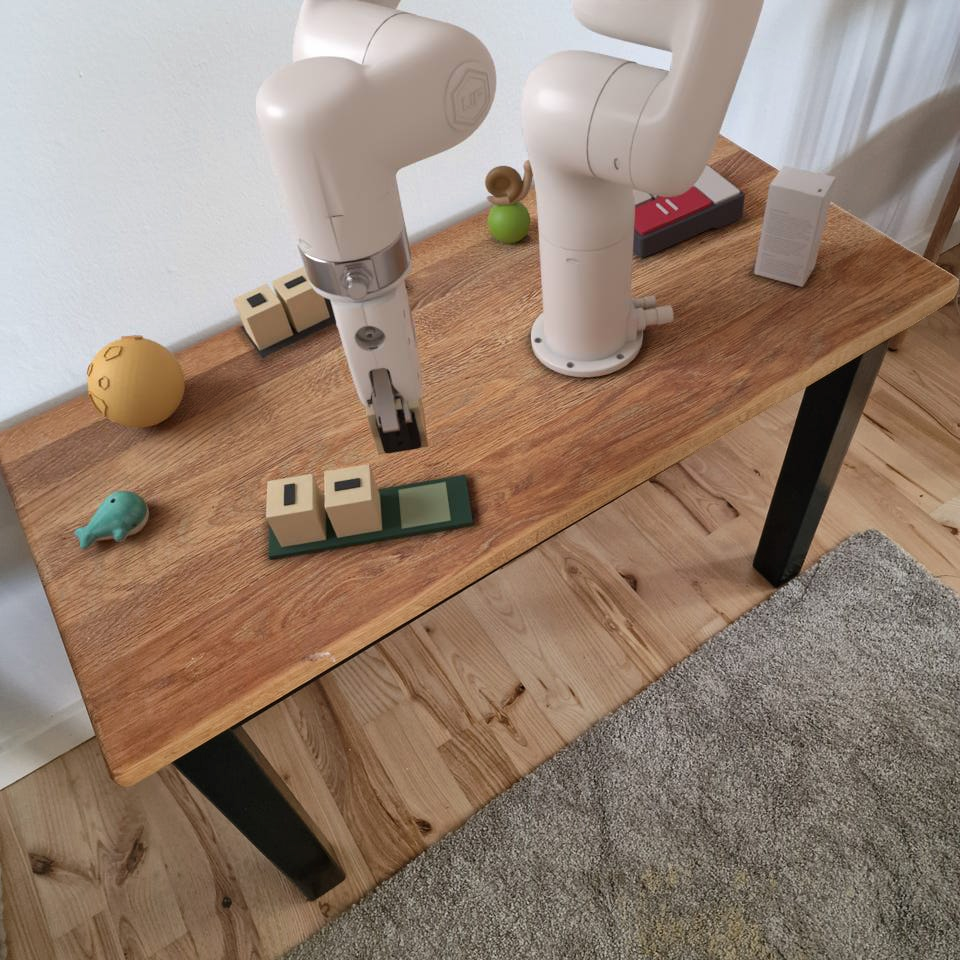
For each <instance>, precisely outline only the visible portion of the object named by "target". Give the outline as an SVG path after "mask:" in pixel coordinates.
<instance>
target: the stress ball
mask: <svg viewBox="0 0 960 960" xmlns="http://www.w3.org/2000/svg"><path fill="white" fill-rule="evenodd" d="M86 376H87V379H86V380H87V382H86V383H87V389H88V398H89V399H90V402H91V403H92V405H93V406H94V408H95V410H96V411H98V413H99V414H100V415H101V416H103V417H106V418H107V419H108V420H109V421H111V422H112V423H114V424H116V425H121V426H123V427H127V428H128V427H129V428H135V429H139V428H149V427H152V426H155V425H158V424H160V423H162V422H164V421H166V420H167V419H168V418H170V417H171V416H172V415H174V413H175V411H176V410H177V409H178V408H179V406H180V404H181V402H182V400H183V397H184V394H185V385H186V382H185V375H184V372H183V368H182V366H181V364H180V362H179V360H178V359H177V358H176V356H175V355H174V354H173V353H172V352H171V351H170V350H169V349H168V348H167V347H165V346H163V345H162V344H161V343H159V342H157V341H155V340H152V339H150V338H149V339H148V338H144V336H143V335H140V334H139V335H137V334H134V335H122V336H120V338H119V339H116V340H114V341H111V342H109V343H108V344H106V345H105V346H103V347H102V348H101V349H100V350H99V351H98V352H97V353H96V354H95V356H94V357H93V359H92V360H91V362H90V363H89V365H88V366H87V370H86Z"/></svg>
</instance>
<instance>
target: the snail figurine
mask: <svg viewBox="0 0 960 960" xmlns="http://www.w3.org/2000/svg"><path fill="white" fill-rule="evenodd" d="M522 168H523V171H524V172H523V177H522V176H521V174H520V173H519V171H518V170H516V169H515V168H514V167H511V166H509V165H498V166H495V167H493V168H492V169H490V170H489V171H488V173H487V174H486V176H485V180H484V186H485V188H486V191H487V192H488V193H489V194H490V195H487V196H486V200H487V201H488V202H490V203H491V204H493V206H492V208H491V209H490V210H489V213H488V216H487V227H488V230H489V232H490V234H491V235H492V237H493V238H494V239H495V240H497V241H498V242H500V243H503V244H510V245H511V244H515V243H518V242H520V241H521V240H523V239H524V238H525V237H526V235H527V234H528V232H529V230H530V227H531V214H530V212H529V210H528V208H527V207H526V206H525V204H524V203H522V202H521V201H522V200H524V199H525V198H526V197H527V195H528V194H529V192H530V189H531V187H532V183H533V179H534V178H533V173H532V169H531V165H530V161H529V159H527V160H525V161H524V162H523V167H522Z"/></svg>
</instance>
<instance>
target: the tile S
mask: <svg viewBox="0 0 960 960" xmlns="http://www.w3.org/2000/svg"><path fill="white" fill-rule="evenodd" d="M392 386H393V385H392ZM394 400H395V405H396V410H398V409H402V405H401V401H400V399H394ZM408 402H409V407H410V411H411V412H414V413H415V418H416V422H417V426H418V430H419V435H420V439H421V447H420V448H419V449H423V448H428V447H429V441H428V431H427V425H426V417H425V416H426V415H425V410H424V404H423V400H422V396H421V397H420V399H419V400H413V401H408ZM365 416H366V421H367V423H368V426H369V430H370V433H371V436H372V439H373V443H374V447H375V449H376V453H377V455H378V456H380V455H386V454H388V453H385V452H384V449H383V446H382V442H381V439H380V435H379V432H378V428H377V425H376V419H375V418H376V416H375V412H374V408H373V405H370V408H368V407H366V406H365Z"/></svg>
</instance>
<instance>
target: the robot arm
mask: <svg viewBox="0 0 960 960" xmlns="http://www.w3.org/2000/svg"><path fill="white" fill-rule="evenodd" d="M401 2H402V0H303V1H302V5H301V7H300V11H299V13H298V18H297V21H296V24H295V28H294V36H293V41H292V53H291V54H292V55H291V56H292V57H291V58H292V59H291V61H292V62H290V63H287V64H285V65H283V66H281V67H279V68H278V69H276V70H274V71H273V72H272V73H270V74H269V75H268V76H267V77H266V78H265V80H264V81H263V82H262V83H261V84H260V86H259V87H258V90H257V93H256V97H255V115H256V119H257V124H258V127H259V130H260V133H261V136H262V140H263V142H264V145H265V148H266V150H267V151H266V152H267V154H268V158H269V162H270V164H271V167H272V169H273V174H274V177H275V179H276V183H277V186H278V189H279V192H280V195H281V198H282V202H283V204H284V205H283V206H284V208H285V211H286V214H287V217H288V220H289V223H290V226H291V230H292V232H293V235H294V240H295V241H296V245H297V248H298V251H299V255H300V258H301V260H302V263H303V267H305V270H306V273H307V277H308V279H309V282H310V285H311V287H312V288H313V290H314V291H315V292H316V293H318V294H319V295H321V296H322V297H324V298H327V299H329V300H330V301H331V304H332V308H333V312H334V316H335V319H336V323H335V324H336V328H337V329H338V334H339V337H340V341H341V344H342V348H343V352H344V355H345V358H346V363H347V365H348V368H349V371H350V374H351V378H352V381H353V384H354V388H355V390H356V393H357V396H358V398H359V401H360V403H361V404H362V405H363V406H365V408H366V407H368V408H370V405H373V408H374V412H375V416H376V418H375V419H376V425H377V428H378V432H379V435H380V439H381V442H382V446H383V449H384V452H385V453H387V454H394V453H400V452H406V451H412V450H413V451H414V450H419V449H421V448H420V447H421V439H420V435H419V430H418V426H417V422H416V418H415V413H414V412H411V411H410V407H409V402H408V401H413V400H419V399H420V397H421V398H422V396H423V393H424V385H423V384H424V383H423V375H422V367H421V360H420V359H421V357H420V349H419V344H418V335H417V330H416V325H415V321H414V316H413V313H412V308H411V304H410V300H409V295H408V291H407V289H406V286H407V285H406V282H405V281H406V279H407V278H408V276H409V275H410V273H411V271H412V267H413V255H412V251H411V246H410V242H409V237H408V232H407V231H408V230H407V227H406V222H405V221H406V220H405V216H404V211H403V207H402V201H401V196H400V191H399V186H398V181H397V173H398V172H399V171H400V170H401V169H403V168H406V167H408V166H411V165H413V164H416V163H418V162H421V161H423V160H427V159H428V158H431V157H434V156H436V155H439V154H441V153H444V152H447V151H448V150H451V149H452V148H454V147H456V146H458V145H459V144H462V142H464V141H466V140H467V139H468V138H469V137H471V136H472V135H473V134H474V133H475V132H476V131H477V130H478V129H479V128H480V126H481V125H482V124H483V123H484V121H485V120H486V118H487V117H488V115H489V113H490V112H491V108H492V105H493V103H494V100H495V97H496V91H497V71H496V64H495V62H494V59H493V57H492V55H491V52H490V51H489V50H488V47H487V46H486V45H485V44H484V43H483V42H482V40H481V39H480V38H479V37H477V36H476V35H475V34H473V33H471V32H470V31H468V30H467V29H465V28H463V27H460V26H459V25H455V24H451V23H449V22H445V21H442V20H437V19H435V18H434V19H433V18H429V17H426V16H423V15H422V16H421V15H417V14H415V13H411V12H407V11H403V10H400V9H397V8H398V6H399V4H400V3H401ZM764 2H765V0H570V6H571V11H572V13H573V16H574V17H575V19H576V20H577V21H578V22H579V23H580V25H581V26H582V27H584V28H586V29H587V30H589V31H591V32H593V33H594V34H598V35H601V36H605V37H608V38H610V39H615V40H618V41H623V42H627V43H631V44H636V45H640V46H643V47H647V48H652V49H657V50H659V51H660V50H661V51H665V52H669V53H672V55H671V62H670V67H669V70H666V69H663V68H658V67H654V66H649V65H645V64H641V63H638V62H636V61H633V60H628V59H625V58H620V57H616V56H611V55H608V54H603V53H599V52H595V51H589V50H588V51H587V50H580V49H579V50H576V49H575V50H574V49H568V50H562V51H557V52H555V53H552V54H549V55H547V56H546V57H544V58H543V59H542V60H541V61H540V62H538V63H537V64H536V65H535V66H534V68H533V69H532V70H531V71H530V73H529V74H528V77H527V78H526V81H525V83H524V86H523V89H522V92H521V97H520V104H519V120H520V129H521V135H522V140H523V143H524V147H525V151H526V154H527V157H528V160H529V161H530V165H531V169H532V173H533V178H532V179H533V183H534V190H535V199H536V209H537V210H536V213H537V227H538V228H537V229H538V245H539V264H540V276H541V277H540V282H541V299H542V312H541V313H540V314H539V315H538V316H537V318H536V319H535V320H534V322H533V324H532V327H531V331H530V343H531V344H530V345H531V348H532V351H533V353H534V355H535V357H536V358H537V360H539V362H540V363H541V364H542V365H544V366H545V367H547V368H548V369H549V370H552V371H554V372H555V373H559V374H561V375H563V376H564V375H565V376H569V377H575V378H595V377H601V376H602V377H603V376H606V375H610V374H612V373H615V372H617V371H619V370H621V369H623V368H625V367H626V366H628V365H629V364H630V363H631V362H632V361H634V359H635V358H636V357H637V356H638V354H639V353H640V350H641V348H642V345H643V340H644V339H643V338H644V331H645V330H646V327H648V326H654V325H656V326H659V325H665V324H671V323H673V322H674V317H675V315H674V309H673V306H672V305H671V304H669V305H661V306H657V299H656V296H655V295H654V294H653V295H647V296H646V295H645V296H642V297H638V298H635V297H634V296H632V283H633V282H632V281H633V257H634V251H633V240H634V223H635V200H634V194H633V189H635V190H639V191H642V192H645V193H648V194H652V195H656V196H661V197H674V196H678V195H681V194H683V193H685V192H686V191H688V190H689V189H690V188H691V187H692V186H693V185H694V184H695V183H696V182H697V181H698V179H699V178H700V176H701V175H702V173H703V171H704V169H705V167H706V165H707V164H708V163H709V161H710V158H711V157H712V154H713V151H714V149H715V146H716V143H717V141H718V138H719V135H720V132H721V130H722V127H723V124H724V121H725V119H726V115H727V112H728V110H729V107H730V104H731V101H732V98H733V95H734V93H735V90H736V87H737V84H738V81H739V78H740V76H741V73H742V70H743V68H744V64H745V61H746V59H747V56H748V53H749V50H750V47H751V45H752V41H753V38H754V35H755V33H756V31H757V27H758V23H759V20H760V16H761V15H762V11H763V6H764ZM405 285H406V286H405ZM392 385H393V386H392ZM394 399H400V401H401V405H402V409H398V410H396V405H395V400H394Z"/></svg>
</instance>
